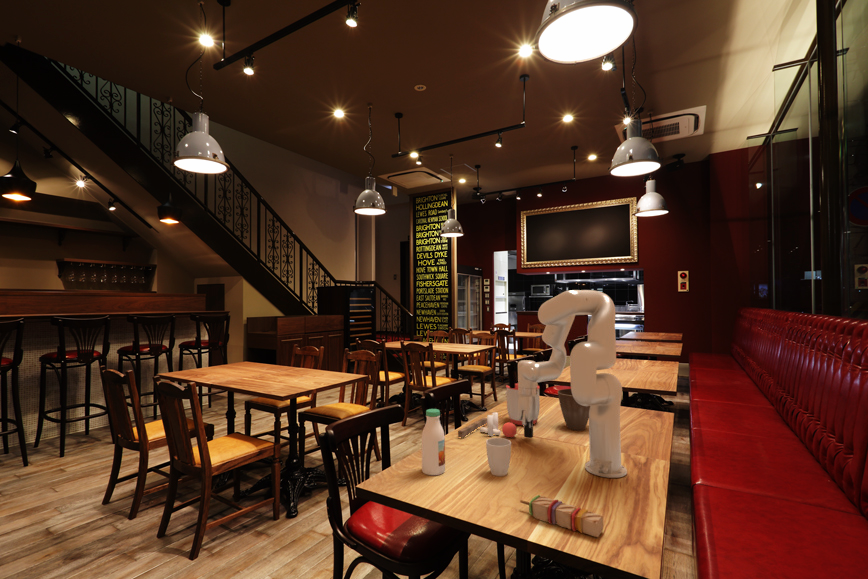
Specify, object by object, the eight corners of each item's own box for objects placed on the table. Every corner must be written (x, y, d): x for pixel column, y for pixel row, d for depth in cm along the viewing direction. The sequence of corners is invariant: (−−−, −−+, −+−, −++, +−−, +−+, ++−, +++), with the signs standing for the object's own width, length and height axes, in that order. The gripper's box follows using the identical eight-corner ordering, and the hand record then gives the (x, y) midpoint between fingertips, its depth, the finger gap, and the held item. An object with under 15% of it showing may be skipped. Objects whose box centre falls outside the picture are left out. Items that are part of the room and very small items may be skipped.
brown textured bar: (462, 439, 168) (462, 431, 168) (458, 438, 169) (458, 430, 169) (487, 424, 188) (487, 418, 188) (483, 424, 189) (483, 417, 189)
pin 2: (496, 434, 174) (496, 414, 174) (491, 433, 175) (491, 413, 175) (499, 432, 176) (498, 412, 176) (494, 431, 177) (493, 412, 177)
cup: (515, 471, 134) (514, 440, 135) (506, 480, 127) (505, 447, 128) (492, 466, 138) (491, 436, 139) (482, 475, 131) (482, 443, 132)
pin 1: (491, 437, 169) (491, 416, 170) (486, 436, 171) (486, 415, 171) (494, 435, 171) (493, 415, 172) (489, 434, 173) (488, 414, 173)
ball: (498, 424, 169) (501, 439, 168) (511, 423, 166) (514, 438, 165) (504, 421, 174) (507, 436, 173) (517, 420, 171) (520, 435, 170)
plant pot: (591, 435, 171) (589, 396, 171) (555, 430, 178) (554, 393, 179) (596, 426, 183) (595, 390, 184) (562, 422, 191) (561, 387, 192)
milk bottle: (431, 478, 129) (431, 414, 130) (417, 470, 135) (416, 409, 136) (450, 471, 134) (449, 410, 135) (435, 465, 140) (434, 406, 141)
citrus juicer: (518, 415, 203) (517, 375, 204) (547, 423, 189) (546, 379, 190) (496, 421, 193) (496, 378, 194) (525, 429, 180) (524, 384, 181)
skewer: (605, 531, 98) (604, 510, 98) (596, 543, 93) (596, 521, 93) (526, 505, 111) (526, 487, 112) (515, 515, 106) (514, 495, 107)
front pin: (498, 430, 171) (480, 427, 176) (498, 436, 171) (479, 433, 175) (500, 429, 173) (482, 426, 178) (500, 435, 173) (482, 432, 177)
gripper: (525, 387, 174) (526, 430, 173) (511, 393, 161) (512, 440, 160) (542, 389, 170) (543, 433, 169) (530, 395, 157) (531, 443, 156)
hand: (528, 437), depth 165 cm, fingers closed
